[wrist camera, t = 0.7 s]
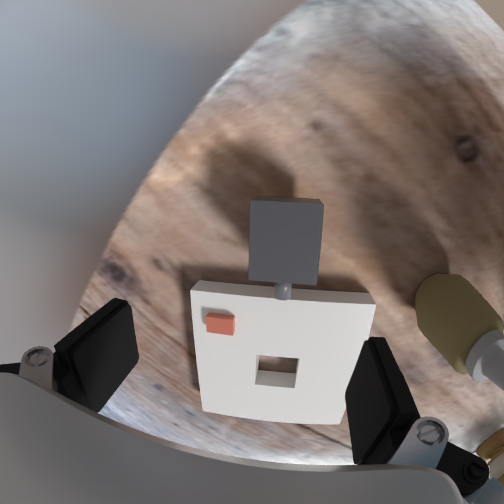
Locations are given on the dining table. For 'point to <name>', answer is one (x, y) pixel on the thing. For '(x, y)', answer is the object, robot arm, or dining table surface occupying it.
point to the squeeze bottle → (462, 326)
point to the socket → (277, 350)
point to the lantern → (494, 455)
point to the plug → (285, 242)
